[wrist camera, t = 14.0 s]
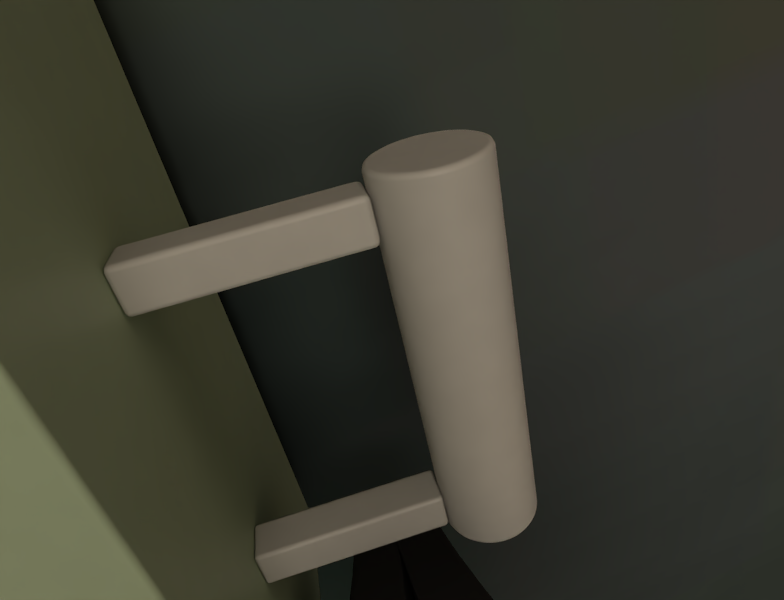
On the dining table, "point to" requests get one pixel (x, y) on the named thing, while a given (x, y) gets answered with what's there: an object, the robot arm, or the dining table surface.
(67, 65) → the drawer
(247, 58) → the dining table surface
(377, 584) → the robot arm
